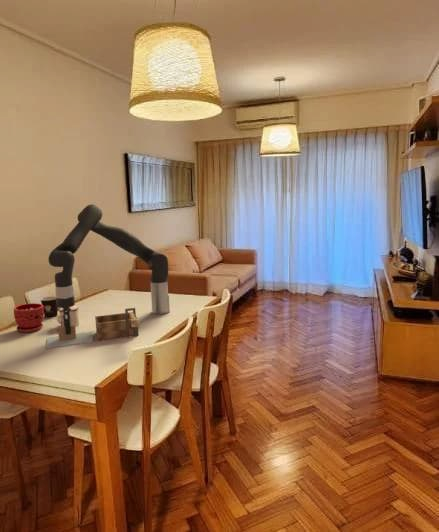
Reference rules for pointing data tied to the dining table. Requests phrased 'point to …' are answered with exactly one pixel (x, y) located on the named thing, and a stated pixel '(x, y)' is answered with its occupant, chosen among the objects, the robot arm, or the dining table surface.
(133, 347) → the dining table surface
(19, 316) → the plant pot
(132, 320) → the key
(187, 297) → the dining table surface
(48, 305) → the coffee mug
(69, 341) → the lid
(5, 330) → the dining table surface
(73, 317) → the teacup with lid
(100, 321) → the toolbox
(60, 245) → the robot arm
